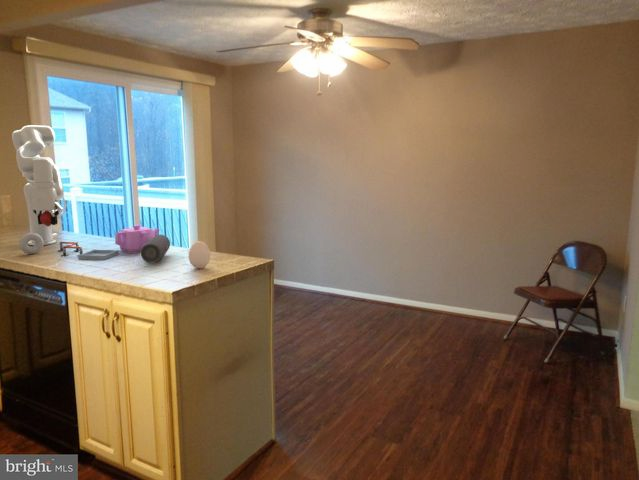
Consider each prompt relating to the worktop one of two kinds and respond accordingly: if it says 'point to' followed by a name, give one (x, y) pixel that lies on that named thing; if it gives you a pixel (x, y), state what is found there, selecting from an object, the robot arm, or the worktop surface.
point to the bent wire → (63, 248)
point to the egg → (199, 254)
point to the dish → (98, 254)
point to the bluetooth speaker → (155, 248)
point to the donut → (26, 238)
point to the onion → (46, 218)
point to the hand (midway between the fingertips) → (48, 223)
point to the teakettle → (134, 238)
